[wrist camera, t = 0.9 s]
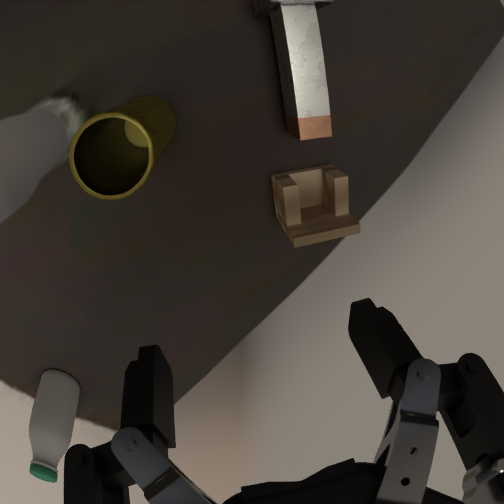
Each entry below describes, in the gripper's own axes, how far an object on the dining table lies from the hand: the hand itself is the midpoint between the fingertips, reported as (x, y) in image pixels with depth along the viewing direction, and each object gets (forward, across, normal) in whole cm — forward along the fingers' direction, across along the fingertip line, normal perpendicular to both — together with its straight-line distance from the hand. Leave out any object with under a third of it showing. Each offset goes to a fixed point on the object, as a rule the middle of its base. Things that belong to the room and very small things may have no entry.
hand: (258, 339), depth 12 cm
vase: (+23, +6, -6) cm, 25 cm away
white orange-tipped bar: (+21, -9, -14) cm, 27 cm away
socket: (+23, -9, +4) cm, 25 cm away
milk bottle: (+23, +35, +29) cm, 51 cm away
